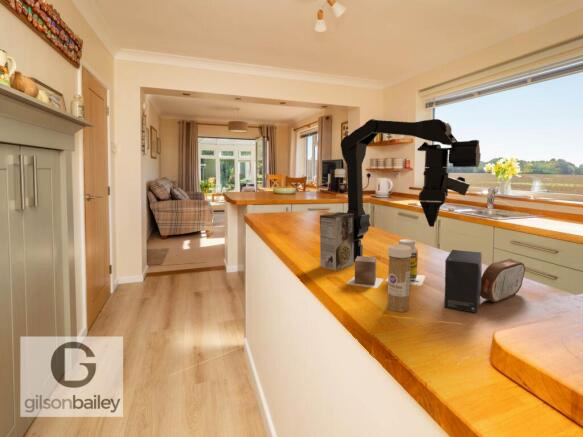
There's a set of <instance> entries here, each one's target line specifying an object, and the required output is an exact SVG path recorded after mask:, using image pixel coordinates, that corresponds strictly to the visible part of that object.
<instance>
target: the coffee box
mask: <svg viewBox="0 0 583 437" xmlns="http://www.w3.org/2000/svg"><path fill="white" fill-rule="evenodd" d="M319 235H320V236H319V240H320V241H319V246H320V247H319V251H320V253H319V254H320V255H319V256H320V259H319V260H320V268H324V269H327V270H331V271H334V272H335V271H336V272H337V271H340V270H343V269H346V268H348V267H351V266H353V265H355V261H354V214H349V213H347V212H341V211H337V212H331V213H325V214H319Z"/></svg>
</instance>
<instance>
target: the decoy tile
mask: <svg viewBox="0 0 583 437" xmlns="http://www.w3.org/2000/svg"><path fill="white" fill-rule="evenodd" d="M383 281H385V278H380V277H376V281H375V285H366V284H355V275H354V276H353V277H351V278H350V280H348V281H347V283H345V284H346V285H351V286H358V287H363V288H364V287H365V288H372V289H378V288H379V286H380V285H381V284H382V283H383Z"/></svg>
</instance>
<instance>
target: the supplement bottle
mask: <svg viewBox="0 0 583 437" xmlns="http://www.w3.org/2000/svg"><path fill="white" fill-rule="evenodd" d="M398 245H407V246H410V247H411V249H412V252H411V258H410V281H411V280H415V279H416V278H417V275H418V257H419V255H418V254H419V253H418V248H416V247H415V246H416V241H415V240H413V239H399V240H398Z"/></svg>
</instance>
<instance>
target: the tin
mask: <svg viewBox="0 0 583 437" xmlns="http://www.w3.org/2000/svg"><path fill="white" fill-rule="evenodd" d="M525 272H526V266H525V264H524V263H523V262H522V261H519V260H514V259H513V258H507V259H504V260H500V261H495V262H492V263H491V264H489V265H488V266H487V267H486V268H485V270H484V272H483V273H482V276H481V292H480V298H481V299H484V300H487V301H489V302H493V303H498V302H500V301H503V300H506V299H508V298H510V297H513V296H515V295H517V293H518V292H519V291H520V289H521V288H522V286H523V280H524V276H525Z"/></svg>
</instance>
